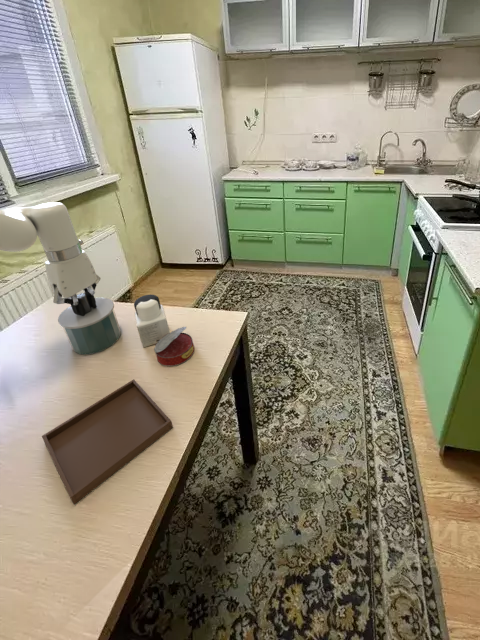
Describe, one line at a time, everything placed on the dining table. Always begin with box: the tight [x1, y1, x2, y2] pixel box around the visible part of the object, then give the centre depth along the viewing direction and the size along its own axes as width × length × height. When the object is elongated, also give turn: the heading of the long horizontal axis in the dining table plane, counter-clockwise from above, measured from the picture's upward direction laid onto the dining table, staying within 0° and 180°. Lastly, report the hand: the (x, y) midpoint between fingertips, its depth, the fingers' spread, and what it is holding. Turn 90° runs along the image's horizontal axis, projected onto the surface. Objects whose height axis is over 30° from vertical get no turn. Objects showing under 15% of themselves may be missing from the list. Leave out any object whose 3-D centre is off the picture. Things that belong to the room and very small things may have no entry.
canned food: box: [153, 326, 195, 367], centre depth 87 cm, size 11×10×10 cm
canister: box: [62, 309, 122, 355], centre depth 93 cm, size 13×13×10 cm
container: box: [133, 294, 171, 348], centre depth 93 cm, size 8×8×13 cm
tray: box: [41, 379, 174, 505], centre depth 67 cm, size 19×17×2 cm
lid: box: [57, 292, 115, 329], centre depth 89 cm, size 14×14×6 cm
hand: (86, 310), depth 90 cm, fingers open, 3 cm apart
